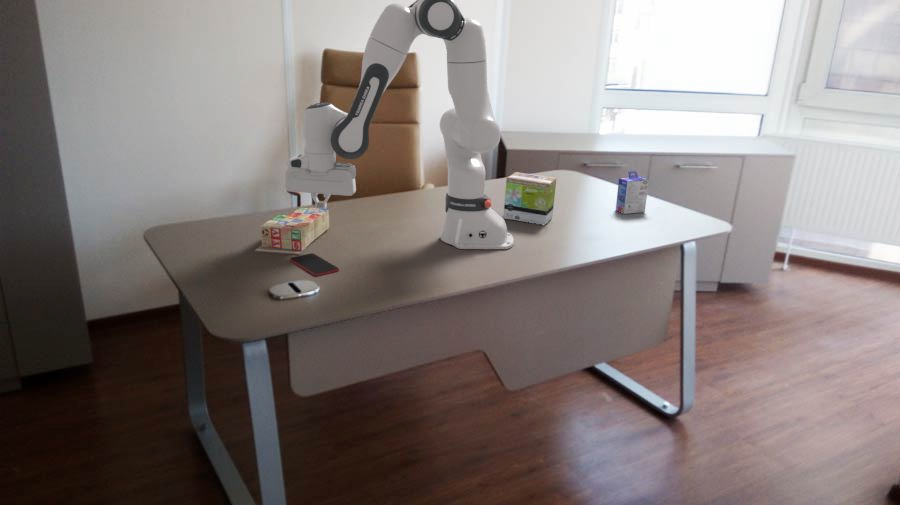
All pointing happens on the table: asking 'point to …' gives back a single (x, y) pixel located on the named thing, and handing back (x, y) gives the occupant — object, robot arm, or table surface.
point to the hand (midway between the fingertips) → (321, 207)
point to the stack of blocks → (295, 229)
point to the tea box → (529, 198)
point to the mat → (278, 250)
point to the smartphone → (314, 264)
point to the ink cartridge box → (632, 194)
